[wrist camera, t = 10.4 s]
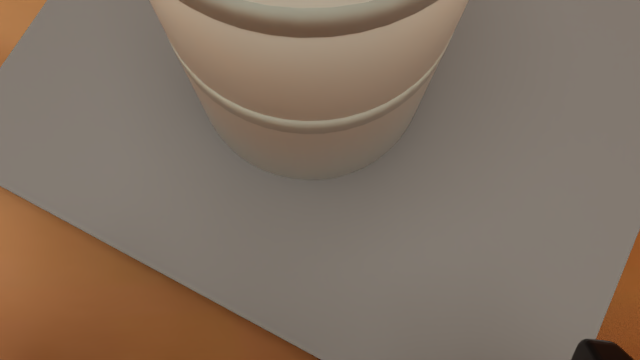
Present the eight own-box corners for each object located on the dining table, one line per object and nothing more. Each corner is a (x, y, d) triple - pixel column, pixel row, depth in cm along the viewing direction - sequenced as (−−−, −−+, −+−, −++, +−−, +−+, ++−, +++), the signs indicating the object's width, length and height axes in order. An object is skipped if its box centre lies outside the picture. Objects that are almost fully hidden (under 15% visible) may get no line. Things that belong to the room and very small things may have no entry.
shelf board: (691, 45, 20) (721, 22, 18) (520, 465, 17) (540, 478, 15) (204, -176, 21) (195, -213, 20) (-31, 167, 18) (-60, 153, 17)
